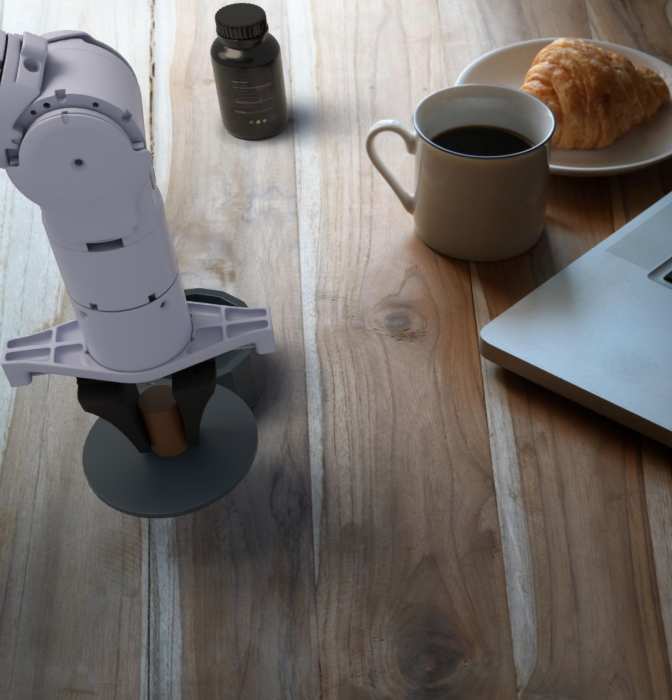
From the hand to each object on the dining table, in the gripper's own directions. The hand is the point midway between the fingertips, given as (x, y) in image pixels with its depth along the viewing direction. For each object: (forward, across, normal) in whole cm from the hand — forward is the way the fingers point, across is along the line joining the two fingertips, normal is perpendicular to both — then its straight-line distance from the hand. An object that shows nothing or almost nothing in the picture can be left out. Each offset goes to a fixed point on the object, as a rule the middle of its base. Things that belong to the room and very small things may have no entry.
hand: (170, 436), depth 59 cm
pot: (+8, -1, -11) cm, 14 cm away
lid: (+1, 0, 0) cm, 1 cm away
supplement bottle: (+8, -8, -47) cm, 48 cm away
